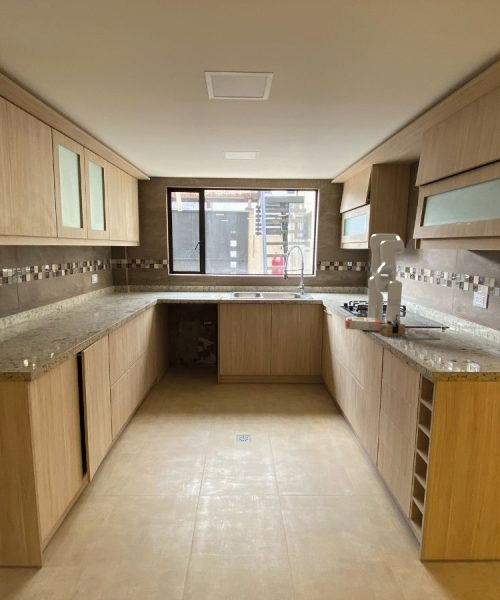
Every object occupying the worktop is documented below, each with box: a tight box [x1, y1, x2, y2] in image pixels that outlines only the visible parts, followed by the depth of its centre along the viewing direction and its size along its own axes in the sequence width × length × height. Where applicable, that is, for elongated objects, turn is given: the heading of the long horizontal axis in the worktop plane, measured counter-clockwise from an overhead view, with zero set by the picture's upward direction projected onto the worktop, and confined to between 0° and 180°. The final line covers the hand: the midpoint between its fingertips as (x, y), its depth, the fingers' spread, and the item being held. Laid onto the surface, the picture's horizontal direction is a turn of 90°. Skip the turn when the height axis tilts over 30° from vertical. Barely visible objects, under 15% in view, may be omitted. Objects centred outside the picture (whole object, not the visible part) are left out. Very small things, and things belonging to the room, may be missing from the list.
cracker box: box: [344, 316, 381, 332], centre depth 236 cm, size 14×6×21 cm
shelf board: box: [378, 322, 406, 338], centre depth 220 cm, size 6×14×6 cm, turn 114°
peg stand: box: [400, 328, 441, 341], centre depth 213 cm, size 10×18×4 cm, turn 93°
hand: (392, 331), depth 220 cm, fingers closed on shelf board, 7 cm apart
